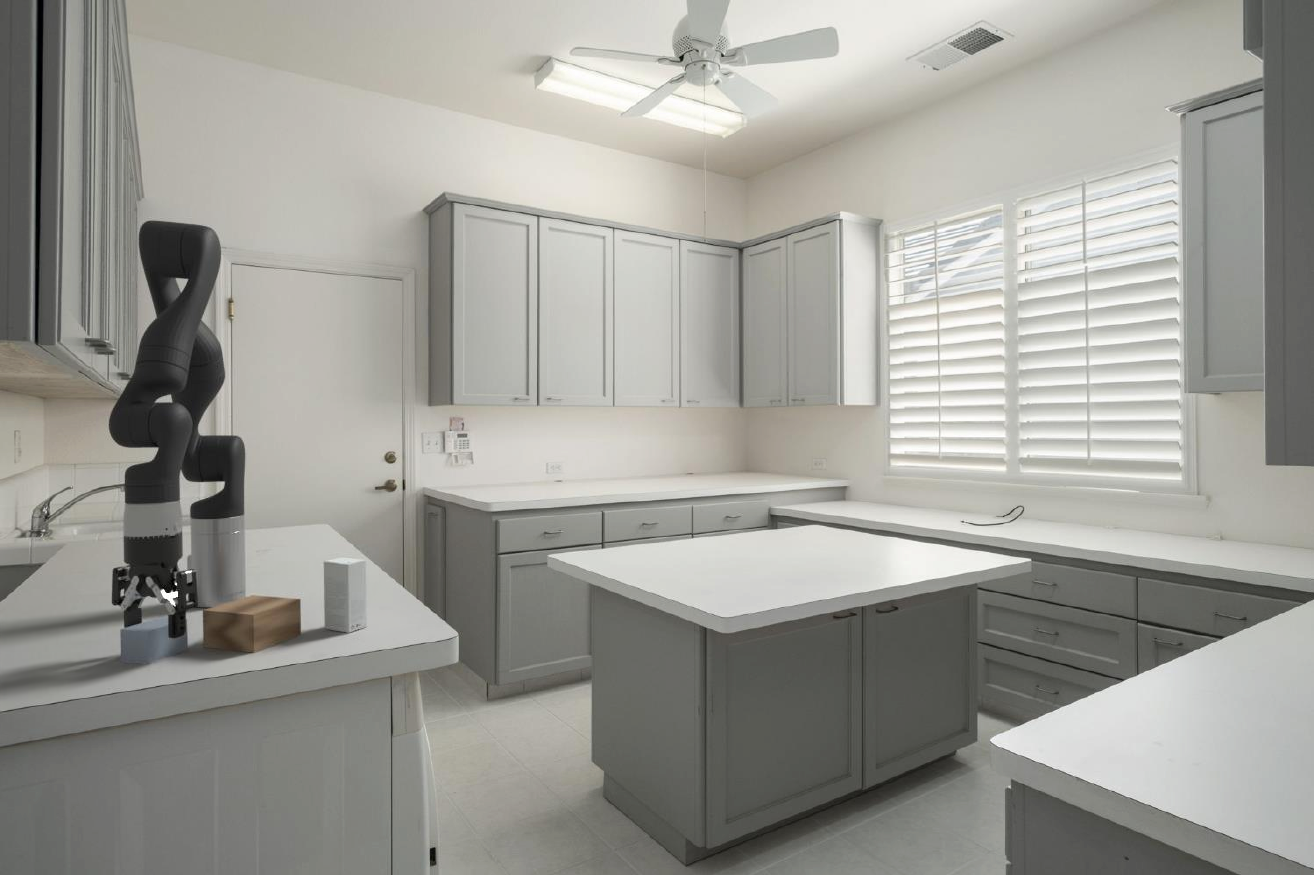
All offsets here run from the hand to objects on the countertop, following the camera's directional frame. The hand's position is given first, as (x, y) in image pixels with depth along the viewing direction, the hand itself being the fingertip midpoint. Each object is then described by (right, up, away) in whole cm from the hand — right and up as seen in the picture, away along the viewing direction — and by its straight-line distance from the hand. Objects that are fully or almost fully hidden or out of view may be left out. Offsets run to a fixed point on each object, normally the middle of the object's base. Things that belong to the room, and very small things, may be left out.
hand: (155, 634), depth 113 cm
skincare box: (+23, -3, +15) cm, 28 cm away
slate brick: (0, -3, 0) cm, 3 cm away
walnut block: (+11, -3, +8) cm, 14 cm away
